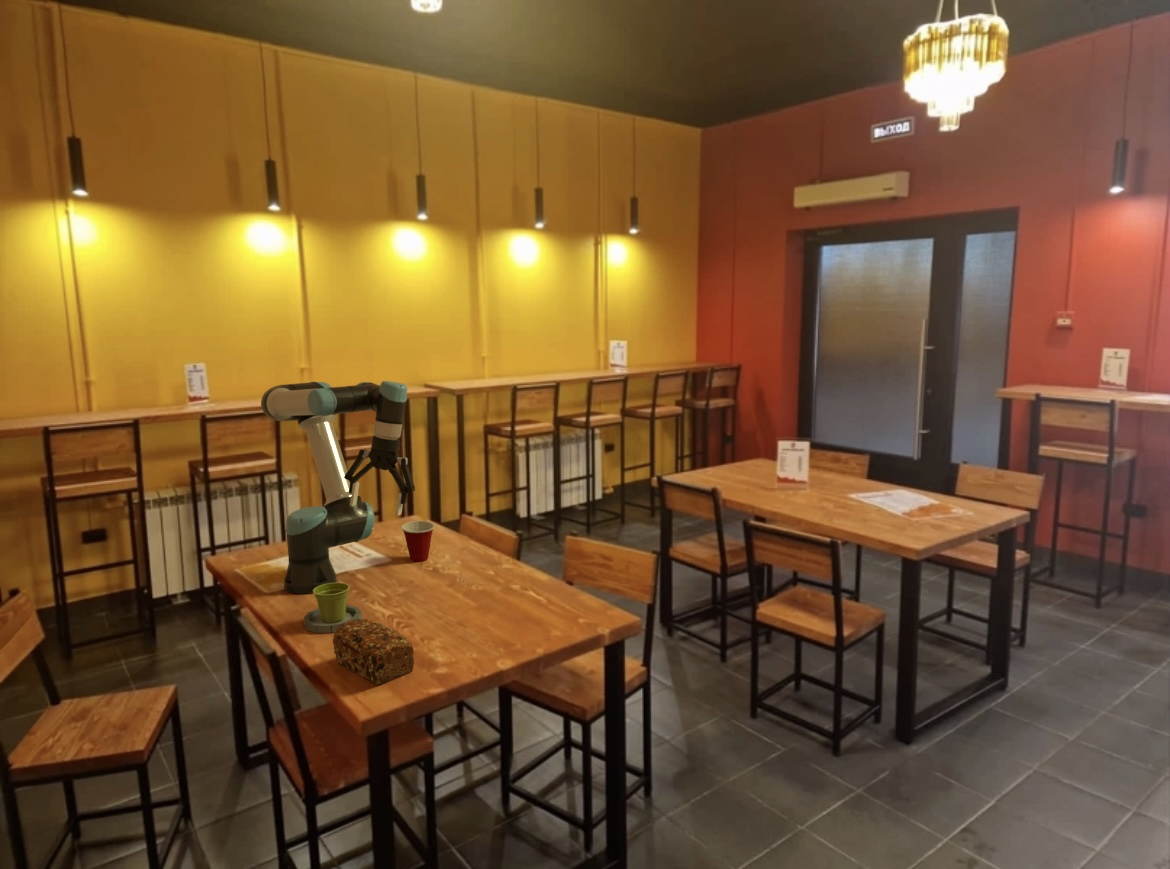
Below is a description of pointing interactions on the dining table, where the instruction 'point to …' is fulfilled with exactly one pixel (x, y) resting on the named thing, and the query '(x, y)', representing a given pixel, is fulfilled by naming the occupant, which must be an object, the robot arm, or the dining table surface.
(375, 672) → the bread
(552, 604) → the dining table surface
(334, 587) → the plant pot
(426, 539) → the plastic cup
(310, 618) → the saucer
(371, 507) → the robot arm
